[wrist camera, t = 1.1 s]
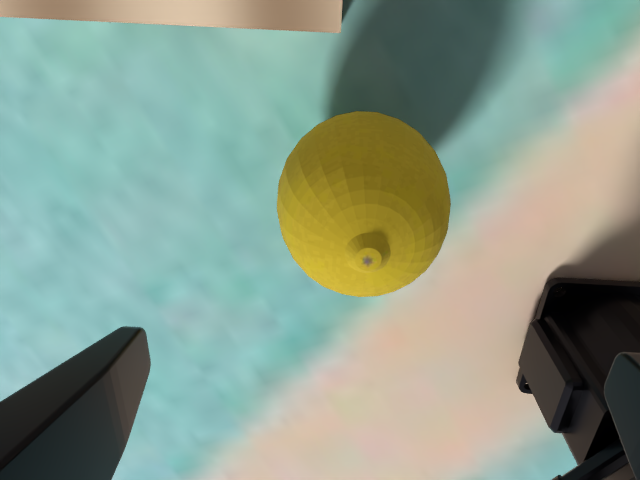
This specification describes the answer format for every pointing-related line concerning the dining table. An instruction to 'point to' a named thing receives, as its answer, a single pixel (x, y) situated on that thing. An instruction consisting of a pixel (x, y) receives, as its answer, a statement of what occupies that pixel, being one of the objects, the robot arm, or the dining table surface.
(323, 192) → the lemon
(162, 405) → the dining table surface
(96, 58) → the dining table surface
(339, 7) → the arena
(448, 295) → the dining table surface
